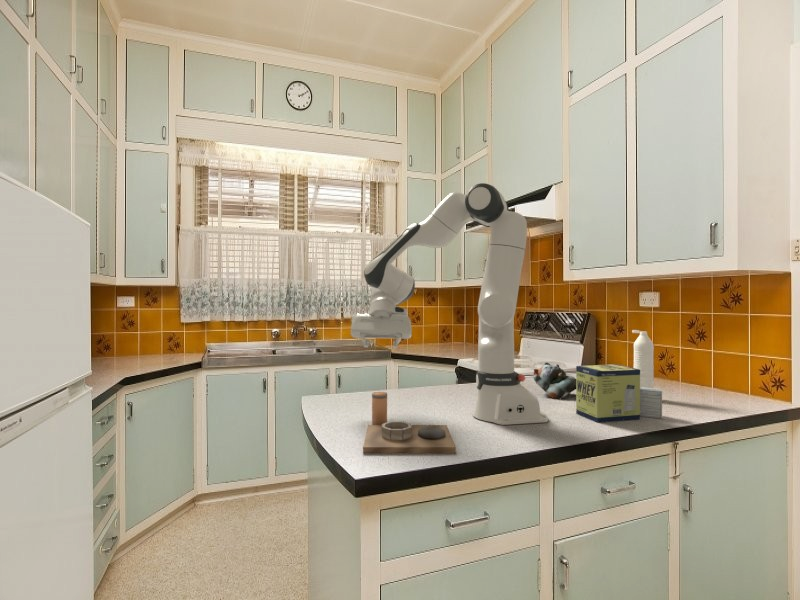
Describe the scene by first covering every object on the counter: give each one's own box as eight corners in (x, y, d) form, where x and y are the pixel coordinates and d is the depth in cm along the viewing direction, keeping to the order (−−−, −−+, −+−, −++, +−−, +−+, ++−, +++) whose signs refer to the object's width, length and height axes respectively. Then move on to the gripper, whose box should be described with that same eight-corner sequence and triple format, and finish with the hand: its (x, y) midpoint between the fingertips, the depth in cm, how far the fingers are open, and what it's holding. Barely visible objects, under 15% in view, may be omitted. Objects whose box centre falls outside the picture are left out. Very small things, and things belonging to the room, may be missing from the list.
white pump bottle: (657, 400, 156) (658, 331, 156) (641, 401, 155) (641, 331, 155) (641, 395, 164) (641, 329, 164) (625, 395, 164) (625, 330, 163)
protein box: (575, 413, 138) (575, 365, 138) (616, 411, 141) (616, 363, 141) (597, 423, 128) (597, 370, 127) (641, 419, 131) (641, 368, 131)
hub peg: (387, 421, 128) (387, 391, 128) (387, 426, 124) (387, 395, 124) (372, 421, 128) (372, 391, 128) (371, 426, 124) (371, 395, 123)
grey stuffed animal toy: (558, 400, 154) (539, 365, 158) (539, 406, 165) (522, 373, 169) (587, 385, 160) (568, 352, 164) (567, 392, 171) (550, 360, 175)
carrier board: (446, 430, 120) (446, 415, 120) (455, 453, 102) (455, 436, 102) (367, 430, 120) (368, 415, 120) (363, 453, 102) (363, 436, 102)
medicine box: (660, 415, 136) (660, 388, 136) (662, 419, 132) (662, 390, 132) (632, 412, 139) (632, 386, 139) (633, 416, 135) (633, 388, 135)
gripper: (351, 307, 146) (347, 339, 136) (411, 309, 146) (412, 341, 136) (352, 320, 150) (348, 351, 140) (410, 321, 150) (411, 353, 141)
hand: (380, 346), depth 138 cm, fingers open, 8 cm apart
